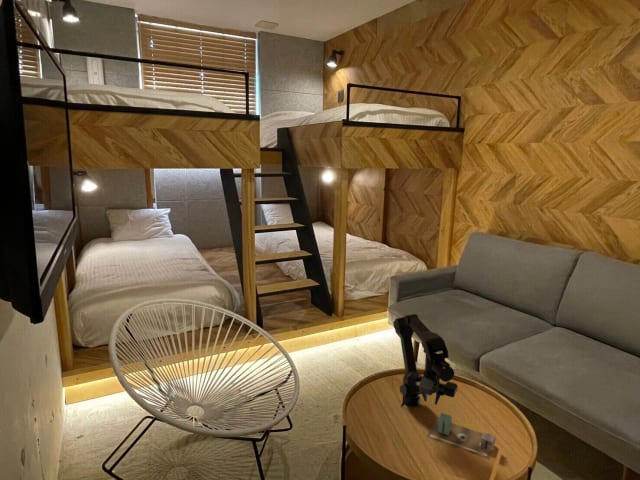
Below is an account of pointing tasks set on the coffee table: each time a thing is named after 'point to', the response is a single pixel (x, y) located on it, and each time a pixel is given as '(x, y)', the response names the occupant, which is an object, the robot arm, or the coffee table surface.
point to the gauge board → (465, 439)
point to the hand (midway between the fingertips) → (430, 402)
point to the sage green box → (444, 423)
